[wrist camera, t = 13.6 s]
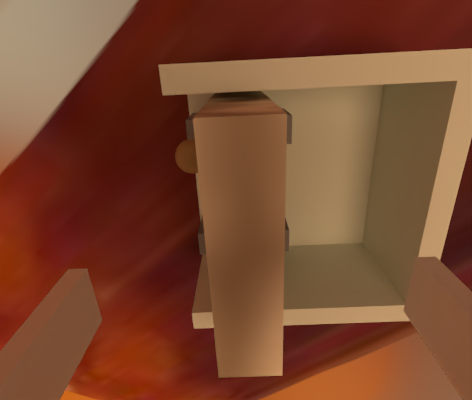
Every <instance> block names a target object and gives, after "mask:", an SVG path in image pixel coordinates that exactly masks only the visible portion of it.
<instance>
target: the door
mask: <svg viewBox="0 0 472 400" xmlns="http://www.w3.org/2000/svg"><path fill="white" fill-rule="evenodd" d="M193 126H194V136H195V139H187V140H185V141H183V142H181V143H180V144H179V145H178V147H177V149H176V151H175V160H176V163H177V165H178V166H179V168H180V169H181V170H183V171H184V172H187V173H192V174H194V173H198V176H199V186H200V195H201V205H202V215H203V225H204V235H205V245H206V255H207V265H208V275H209V285H210V295H211V305H212V314H213V324H214V334H215V344H216V354H217V364H218V374H219V377H250V376H281V375H282V365H283V311H284V257H285V202H286V148H287V113H286V112H285V111H284V110H282V109H281V108H280V107H279V106H278V105H277V104H276V103H274V102H273V101H272V100H271V99H270V98H269V97H268V96H267V95H265V94H264V93H263V92H262V91H242V92H222V93H214V95H213V96H212V97H211V98H210V99H209V100H208V101H207V103H206V104H205V105H204V106H203V107H202V108H201V109H200V110H199V112H198V113H197V114H196V115H195V116H194V117H193Z"/></svg>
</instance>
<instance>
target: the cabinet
mask: <svg viewBox="0 0 472 400" xmlns="http://www.w3.org/2000/svg"><path fill="white" fill-rule="evenodd" d="M158 66H159V73H160V81H161V88H162V95H182V94H187V97H188V107H189V117H188V118H187V119H186V120H185V122H186V131H187V139H195V136H194V126H193V117H194V116H195V115H196V114H197V113H198V112H199V110H200V109H201V108H202V107H203V106H204V105H205V104H206V103H207V101H208V100H209V99H210V98H211V97H212V96H213V95H214V93H222V92H242V91H262V92H263V93H264V94H265V95H267V96H268V97H269V98H270V99H271V100H272V101H273V102H274V103H276V104H277V105H278V106H279V107H280V108H281V109H282V110H284V111H285V112H286V113H287V148H286V202H285V257H284V311H283V325H306V324H335V323H363V322H391V321H410V320H409V318H408V317H407V315H406V314H405V312H404V311H403V310H404V306H405V302H406V297H407V293H408V289H409V284H410V280H411V276H412V271H413V267H414V263H415V258H416V257H437V258H438V259H439V260H440V258H441V254H442V250H443V246H444V242H445V239H446V235H447V231H448V227H449V223H450V219H451V215H452V211H453V208H454V204H455V200H456V196H457V192H458V188H459V184H460V180H461V177H462V173H463V169H464V165H465V161H466V157H467V153H468V149H469V146H470V142H471V138H472V48H470V49H451V50H431V51H412V52H393V53H374V54H354V55H335V56H316V57H297V58H278V59H258V60H239V61H220V62H201V63H181V64H162V65H158ZM195 174H196V183H197V193H198V202H199V212H200V221H201V222H200V227H199V231H198V240H199V249H200V255H202V260H201V265H200V271H199V277H198V282H197V288H196V293H195V299H194V304H193V310H192V317H193V325H194V328H214V324H213V314H212V305H211V295H210V285H209V275H208V265H207V255H206V245H205V235H204V225H203V215H202V205H201V195H200V186H199V176H198V173H195Z"/></svg>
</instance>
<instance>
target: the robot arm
mask: <svg viewBox="0 0 472 400" xmlns="http://www.w3.org/2000/svg"><path fill="white" fill-rule="evenodd" d="M403 311H404V312H405V314H406V315H407V317H408V318H409V320H410V321H411V323H412V324H413V326H414V327H415V329H416V330H417V332H418V333H419V335H420V336H421V338H422V339H423V341H424V342H425V344H426V345H427V347H428V348H429V350H430V351H431V353H432V354H433V356H434V357H435V359H436V360H437V362H438V363H439V365H440V366H441V368H442V369H443V371H444V372H445V374H446V375H447V377H448V378H449V380H450V381H451V383H452V384H453V386H454V387H455V389H456V390H457V392H458V393H459V395H460V396H461V398H462V399H463V400H472V292H471V291H470V290H469V289H468V288H467V287H466V286H465V285H464V284H463V283H462V282H461V281H460V280H459V279H458V278H457V277H456V276H455V275H454V274H453V273H452V272H451V271H450V270H449V269H448V268H447V267H446V266H445V265H444V264H443V263H442V262H441V261H440V260H439V259H438V258H437V257H416V258H415V263H414V267H413V271H412V276H411V280H410V284H409V289H408V293H407V297H406V302H405V306H404V310H403ZM101 321H102V317H101V314H100V311H99V307H98V304H97V301H96V297H95V294H94V291H93V287H92V284H91V281H90V277H89V274H88V271H87V269H68V270H67V271H66V273H65V274H64V275H63V276H62V278H61V279H60V280H59V281H58V282H57V284H56V285H55V286H54V287H53V288H52V290H51V291H50V292H49V293H48V294H47V296H46V297H45V298H44V299H43V300H42V302H41V303H40V304H39V305H38V307H37V308H36V309H35V310H34V311H33V313H32V314H31V315H30V316H29V317H28V319H27V320H26V321H25V322H24V323H23V325H22V326H21V327H20V328H19V329H18V331H17V332H16V333H15V334H14V336H13V337H12V338H11V339H10V340H9V342H8V343H7V344H6V345H5V346H4V348H3V349H2V350H1V351H0V400H60V399H61V396H62V395H63V393H64V391H65V389H66V387H67V385H68V383H69V382H70V380H71V378H72V376H73V374H74V372H75V370H76V368H77V367H78V365H79V363H80V361H81V359H82V357H83V355H84V353H85V351H86V350H87V348H88V346H89V344H90V342H91V340H92V338H93V336H94V335H95V333H96V331H97V329H98V327H99V325H100V323H101Z"/></svg>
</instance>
